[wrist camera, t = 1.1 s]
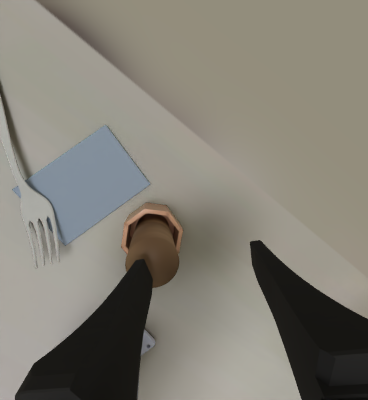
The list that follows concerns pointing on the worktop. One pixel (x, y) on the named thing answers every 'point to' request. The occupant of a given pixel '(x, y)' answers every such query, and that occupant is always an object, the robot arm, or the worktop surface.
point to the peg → (154, 248)
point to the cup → (153, 209)
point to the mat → (87, 183)
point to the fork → (29, 199)
